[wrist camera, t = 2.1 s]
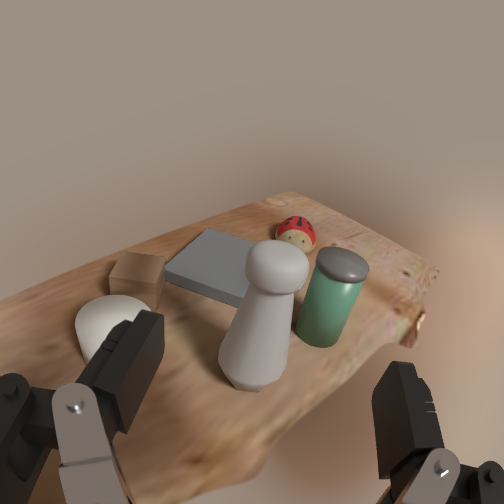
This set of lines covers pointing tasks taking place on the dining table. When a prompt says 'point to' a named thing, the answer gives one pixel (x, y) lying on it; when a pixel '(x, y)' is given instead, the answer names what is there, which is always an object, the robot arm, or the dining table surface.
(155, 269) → the brown wooden block
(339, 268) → the dark green jar
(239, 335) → the salt shaker
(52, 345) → the dining table surface
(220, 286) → the cutting board
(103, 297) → the white dome
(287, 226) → the ladybug figurine
